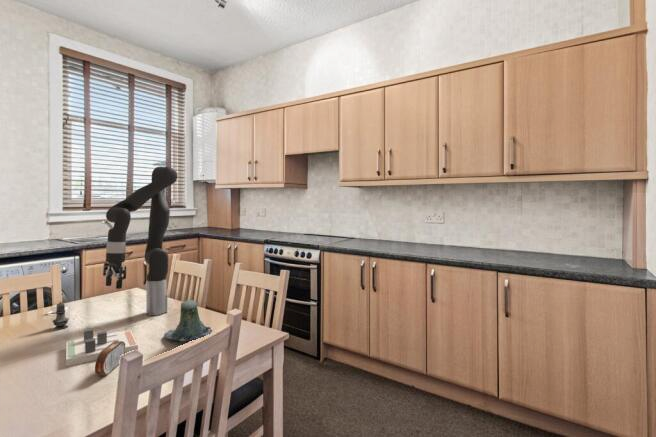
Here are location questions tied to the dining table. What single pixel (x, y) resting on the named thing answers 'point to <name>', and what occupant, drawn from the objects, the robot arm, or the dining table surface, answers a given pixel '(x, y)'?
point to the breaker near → (89, 345)
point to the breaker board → (97, 347)
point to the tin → (109, 358)
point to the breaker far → (88, 334)
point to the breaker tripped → (101, 337)
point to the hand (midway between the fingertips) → (113, 287)
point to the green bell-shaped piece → (188, 325)
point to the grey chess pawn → (60, 317)
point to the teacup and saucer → (55, 310)
